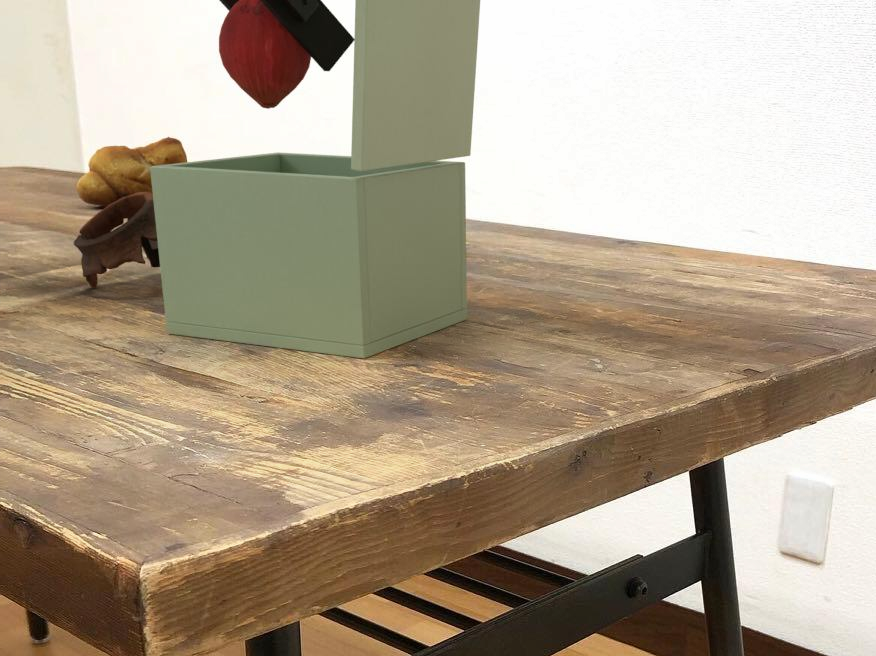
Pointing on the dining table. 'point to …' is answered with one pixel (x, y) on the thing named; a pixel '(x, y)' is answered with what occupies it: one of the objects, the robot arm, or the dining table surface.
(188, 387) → the dining table surface
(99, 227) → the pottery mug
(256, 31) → the onion
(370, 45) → the lid
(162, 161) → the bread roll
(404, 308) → the box
